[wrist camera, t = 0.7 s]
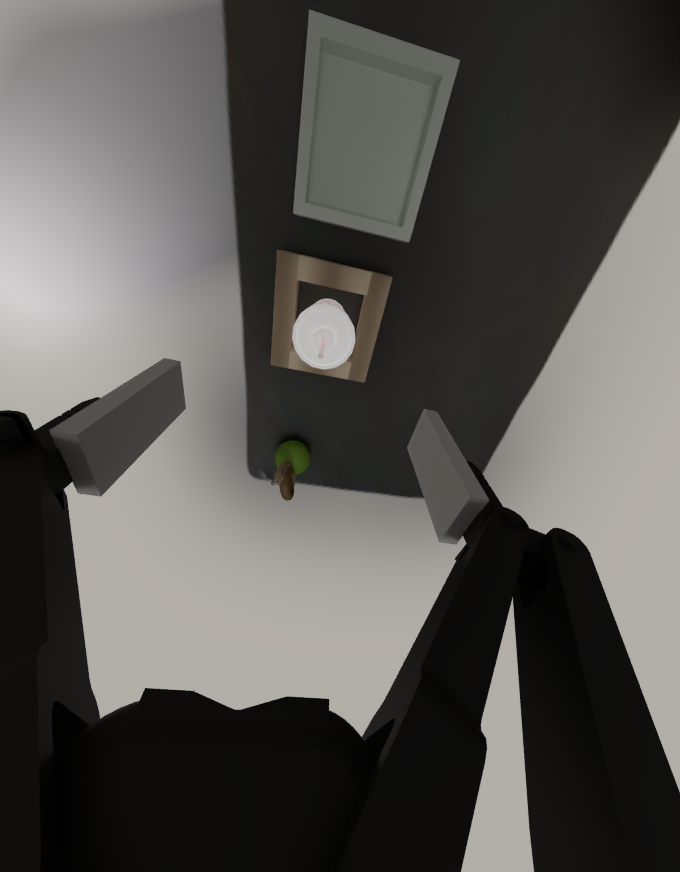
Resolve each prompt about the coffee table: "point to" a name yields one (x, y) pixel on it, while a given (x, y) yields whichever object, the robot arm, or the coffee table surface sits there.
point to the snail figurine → (290, 466)
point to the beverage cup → (324, 335)
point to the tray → (367, 127)
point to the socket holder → (335, 276)
